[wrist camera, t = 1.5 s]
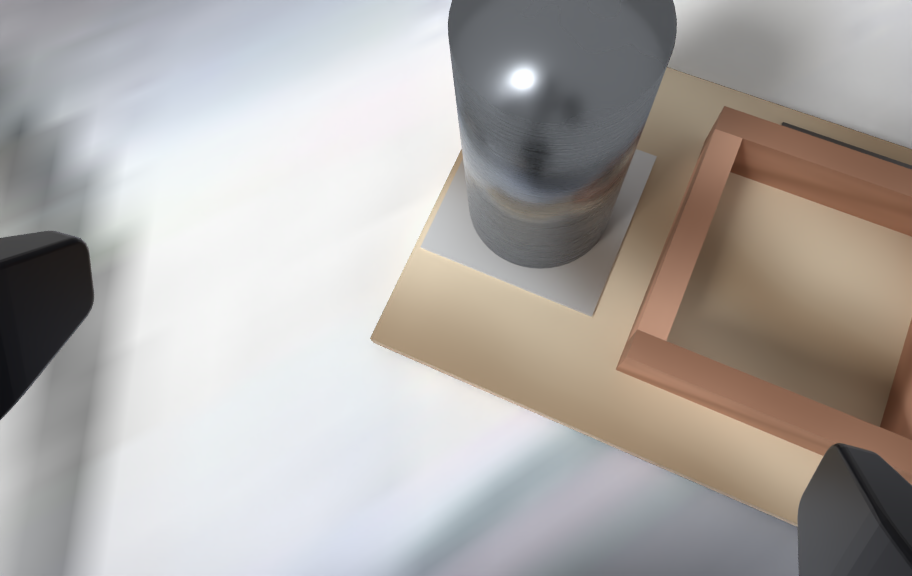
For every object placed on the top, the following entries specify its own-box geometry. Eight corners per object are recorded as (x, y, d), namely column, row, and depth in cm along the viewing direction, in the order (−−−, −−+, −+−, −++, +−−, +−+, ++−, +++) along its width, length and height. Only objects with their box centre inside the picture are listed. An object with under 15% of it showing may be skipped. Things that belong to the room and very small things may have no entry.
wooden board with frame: (883, 564, 20) (938, 573, 17) (373, 342, 22) (357, 322, 20) (988, 187, 22) (1048, 148, 20) (523, 30, 25) (526, -22, 23)
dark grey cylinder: (580, 290, 22) (629, 155, 13) (446, 237, 22) (411, 77, 14) (632, 166, 23) (708, -33, 14) (502, 118, 23) (501, -97, 15)
